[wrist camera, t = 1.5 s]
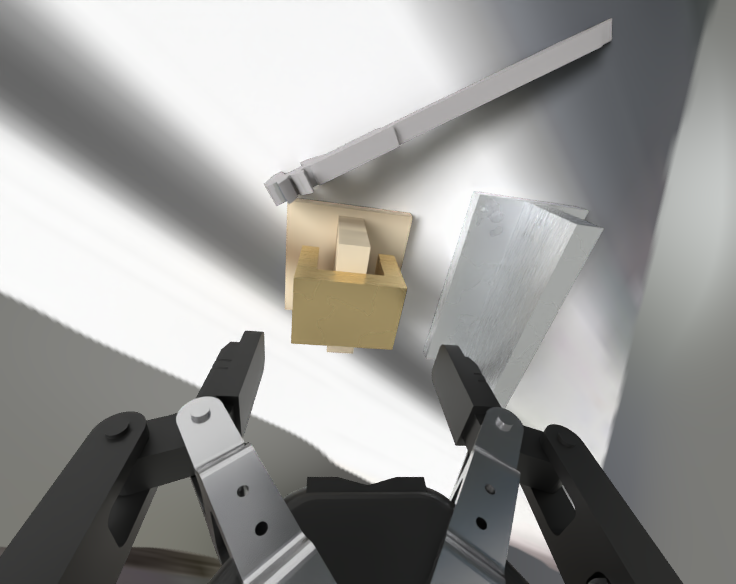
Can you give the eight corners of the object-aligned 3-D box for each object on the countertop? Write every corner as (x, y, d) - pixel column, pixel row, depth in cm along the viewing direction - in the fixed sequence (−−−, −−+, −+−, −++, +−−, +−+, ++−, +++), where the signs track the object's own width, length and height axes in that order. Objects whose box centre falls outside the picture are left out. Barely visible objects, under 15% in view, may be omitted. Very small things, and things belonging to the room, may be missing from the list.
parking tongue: (289, 197, 19) (272, 226, 14) (409, 212, 21) (433, 245, 15) (286, 302, 23) (272, 355, 18) (388, 310, 24) (401, 362, 19)
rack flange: (473, 191, 20) (520, 216, 15) (578, 206, 21) (655, 235, 16) (423, 351, 27) (443, 406, 22) (505, 356, 28) (542, 410, 23)
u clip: (302, 245, 18) (293, 277, 14) (393, 255, 19) (407, 288, 15) (299, 302, 20) (291, 343, 16) (382, 309, 21) (392, 349, 17)
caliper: (283, 189, 20) (262, 218, 14) (274, 173, 19) (249, 196, 14) (605, 41, 17) (730, 7, 12) (605, 18, 16) (736, -30, 11)
